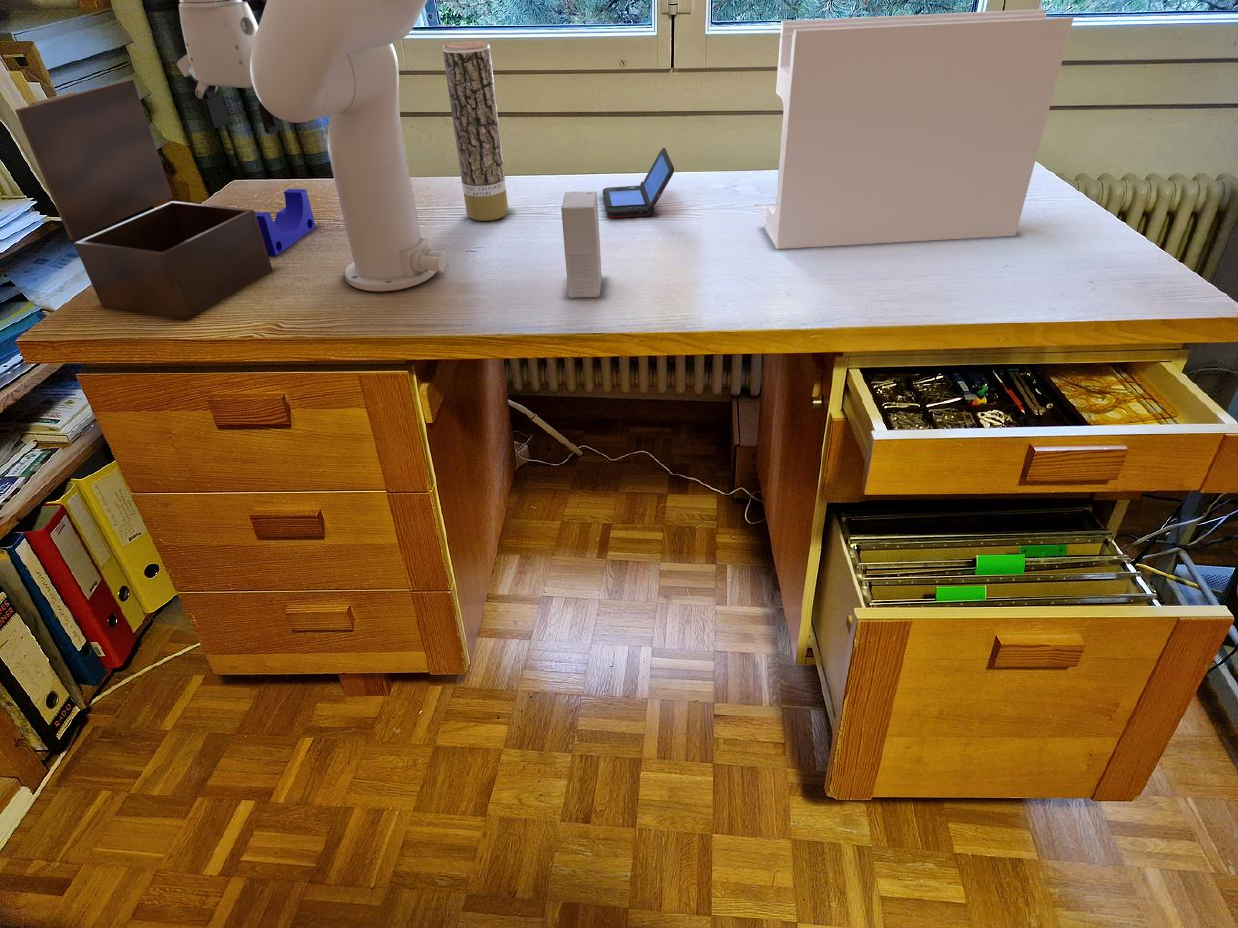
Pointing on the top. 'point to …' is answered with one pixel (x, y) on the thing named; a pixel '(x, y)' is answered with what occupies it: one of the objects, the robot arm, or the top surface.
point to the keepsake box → (175, 259)
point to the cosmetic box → (582, 244)
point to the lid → (95, 155)
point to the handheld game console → (640, 191)
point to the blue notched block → (287, 222)
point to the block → (911, 125)
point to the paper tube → (476, 128)
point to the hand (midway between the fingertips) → (247, 128)
